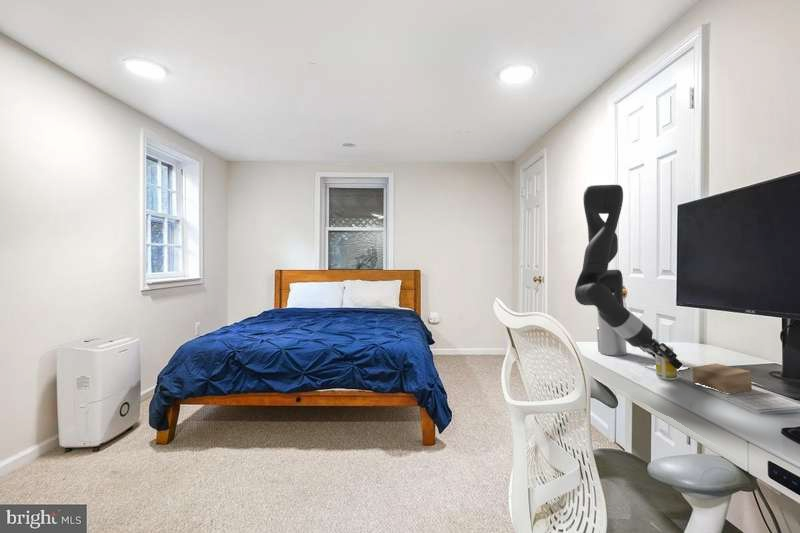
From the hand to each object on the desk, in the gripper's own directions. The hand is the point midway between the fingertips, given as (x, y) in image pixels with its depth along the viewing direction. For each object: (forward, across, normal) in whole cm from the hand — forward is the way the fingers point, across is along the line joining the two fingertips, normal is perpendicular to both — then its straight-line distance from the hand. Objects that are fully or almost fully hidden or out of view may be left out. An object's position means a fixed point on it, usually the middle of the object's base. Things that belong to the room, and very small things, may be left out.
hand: (670, 363), depth 115 cm
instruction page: (+7, +9, -1) cm, 11 cm away
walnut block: (+8, -10, -2) cm, 13 cm away
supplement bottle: (+2, 0, +4) cm, 5 cm away
